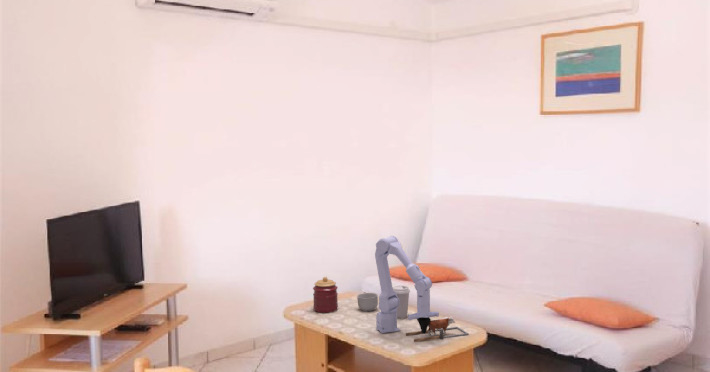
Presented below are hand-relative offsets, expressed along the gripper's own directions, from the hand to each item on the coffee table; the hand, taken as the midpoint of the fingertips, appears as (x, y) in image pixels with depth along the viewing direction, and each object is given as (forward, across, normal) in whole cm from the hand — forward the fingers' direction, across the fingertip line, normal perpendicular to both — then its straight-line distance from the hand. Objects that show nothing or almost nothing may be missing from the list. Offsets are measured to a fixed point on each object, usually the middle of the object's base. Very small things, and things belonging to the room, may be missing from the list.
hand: (423, 333), depth 280 cm
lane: (+2, +13, 0) cm, 13 cm away
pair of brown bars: (+2, 0, 0) cm, 2 cm away
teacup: (+2, -9, +51) cm, 52 cm away
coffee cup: (+2, +2, +32) cm, 32 cm away
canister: (+2, -30, +58) cm, 65 cm away
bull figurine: (+2, +9, 0) cm, 9 cm away
